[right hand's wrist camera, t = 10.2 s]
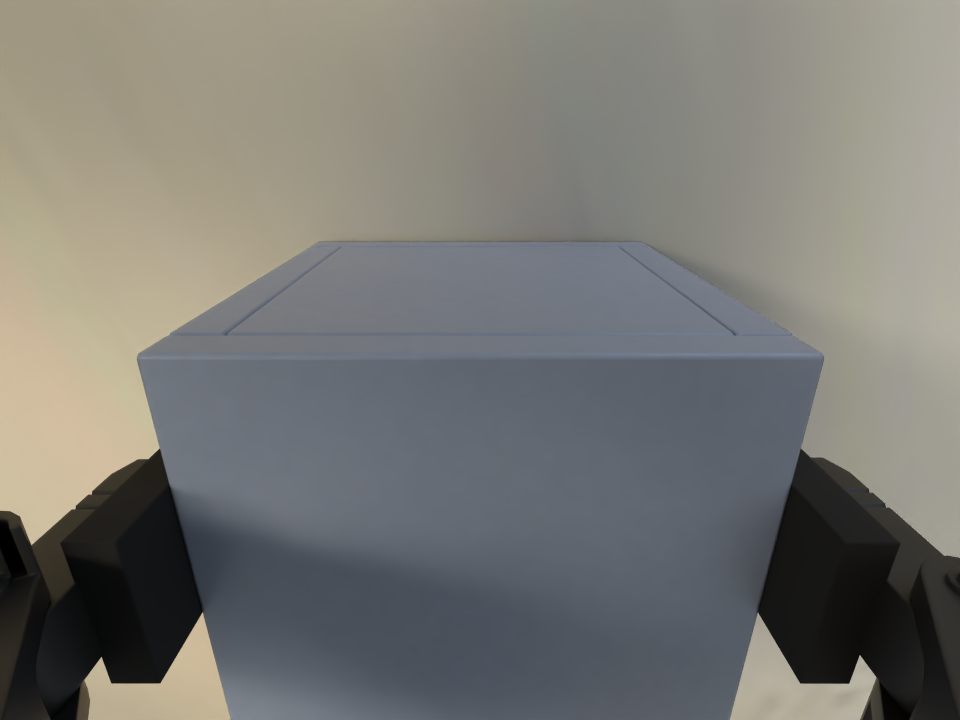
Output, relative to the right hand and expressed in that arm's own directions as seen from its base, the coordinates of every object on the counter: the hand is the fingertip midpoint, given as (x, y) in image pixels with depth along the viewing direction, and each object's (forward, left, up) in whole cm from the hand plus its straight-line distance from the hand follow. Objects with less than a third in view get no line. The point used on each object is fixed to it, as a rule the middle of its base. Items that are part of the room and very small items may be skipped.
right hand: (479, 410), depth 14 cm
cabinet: (+3, -5, -4) cm, 7 cm away
